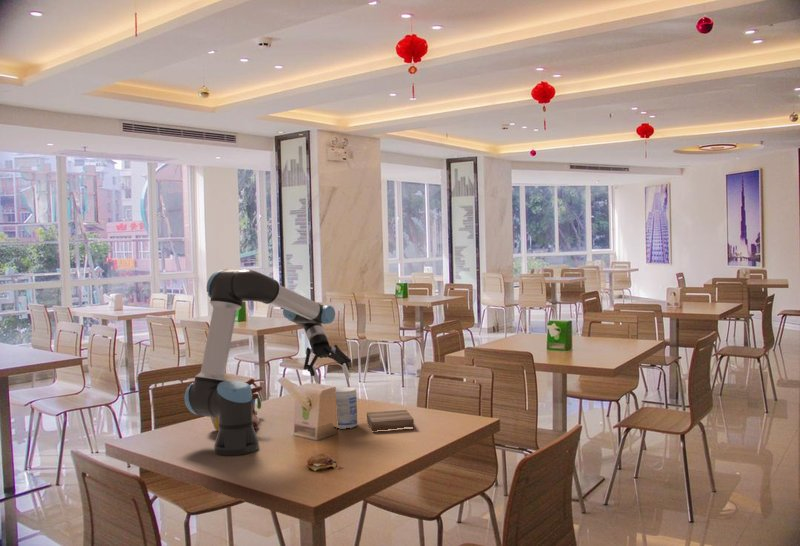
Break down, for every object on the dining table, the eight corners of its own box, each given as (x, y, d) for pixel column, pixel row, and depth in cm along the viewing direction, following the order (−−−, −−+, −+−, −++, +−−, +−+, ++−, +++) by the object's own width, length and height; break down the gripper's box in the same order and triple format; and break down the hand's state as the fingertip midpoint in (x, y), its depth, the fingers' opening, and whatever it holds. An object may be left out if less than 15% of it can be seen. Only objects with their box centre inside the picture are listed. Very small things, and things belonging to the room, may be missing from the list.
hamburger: (312, 478, 210) (311, 458, 210) (299, 465, 223) (298, 447, 223) (355, 470, 216) (354, 451, 216) (340, 459, 229) (339, 441, 229)
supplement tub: (355, 429, 265) (354, 391, 265) (331, 429, 266) (330, 391, 265) (359, 423, 275) (357, 386, 274) (335, 423, 275) (334, 387, 275)
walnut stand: (413, 429, 262) (413, 419, 262) (372, 432, 260) (371, 421, 260) (406, 419, 278) (406, 409, 278) (367, 422, 276) (366, 412, 276)
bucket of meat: (207, 414, 278) (254, 398, 287) (220, 447, 269) (269, 429, 277) (203, 384, 264) (253, 368, 273) (217, 418, 255) (269, 400, 263)
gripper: (342, 342, 300) (358, 381, 287) (287, 347, 288) (302, 388, 275) (346, 330, 295) (363, 370, 283) (291, 335, 283) (306, 377, 270)
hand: (333, 379), depth 279 cm, fingers open, 13 cm apart
